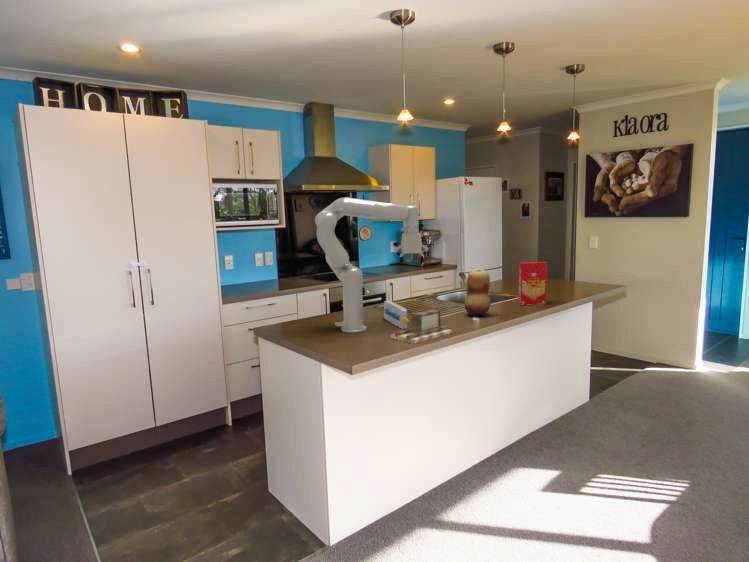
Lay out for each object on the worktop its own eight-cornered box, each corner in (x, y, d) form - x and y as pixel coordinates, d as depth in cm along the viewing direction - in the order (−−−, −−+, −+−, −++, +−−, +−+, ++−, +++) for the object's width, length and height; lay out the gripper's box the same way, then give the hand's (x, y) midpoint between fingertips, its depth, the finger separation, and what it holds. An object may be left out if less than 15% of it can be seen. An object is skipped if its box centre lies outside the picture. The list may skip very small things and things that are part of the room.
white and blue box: (382, 318, 258) (382, 300, 257) (389, 318, 259) (388, 300, 258) (403, 332, 227) (403, 312, 226) (411, 331, 229) (410, 311, 227)
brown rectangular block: (419, 334, 216) (419, 315, 215) (411, 332, 220) (411, 313, 219) (440, 329, 225) (440, 310, 223) (433, 327, 229) (433, 309, 227)
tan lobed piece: (478, 319, 249) (478, 272, 246) (459, 315, 260) (459, 269, 257) (495, 315, 257) (496, 269, 254) (476, 311, 268) (477, 267, 265)
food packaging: (520, 305, 282) (521, 263, 279) (518, 303, 288) (519, 262, 284) (546, 304, 282) (547, 262, 278) (543, 303, 287) (544, 261, 283)
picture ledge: (412, 343, 207) (411, 337, 207) (390, 337, 218) (390, 331, 218) (452, 333, 223) (452, 326, 223) (431, 328, 234) (431, 322, 234)
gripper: (394, 231, 235) (395, 266, 237) (429, 230, 235) (429, 264, 237) (393, 230, 242) (394, 264, 245) (427, 229, 242) (427, 263, 245)
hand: (411, 264), depth 241 cm, fingers open, 9 cm apart
